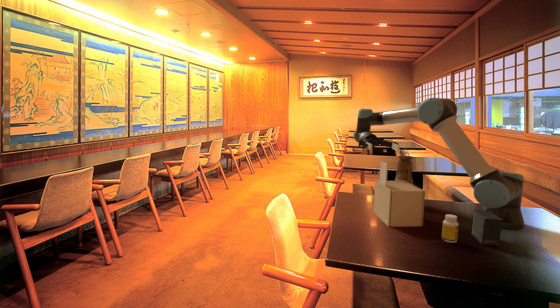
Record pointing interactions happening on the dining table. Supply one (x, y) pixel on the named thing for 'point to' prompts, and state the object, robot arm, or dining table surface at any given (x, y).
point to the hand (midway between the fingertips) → (385, 147)
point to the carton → (406, 204)
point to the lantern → (404, 168)
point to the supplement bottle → (450, 228)
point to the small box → (486, 227)
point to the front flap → (382, 195)
